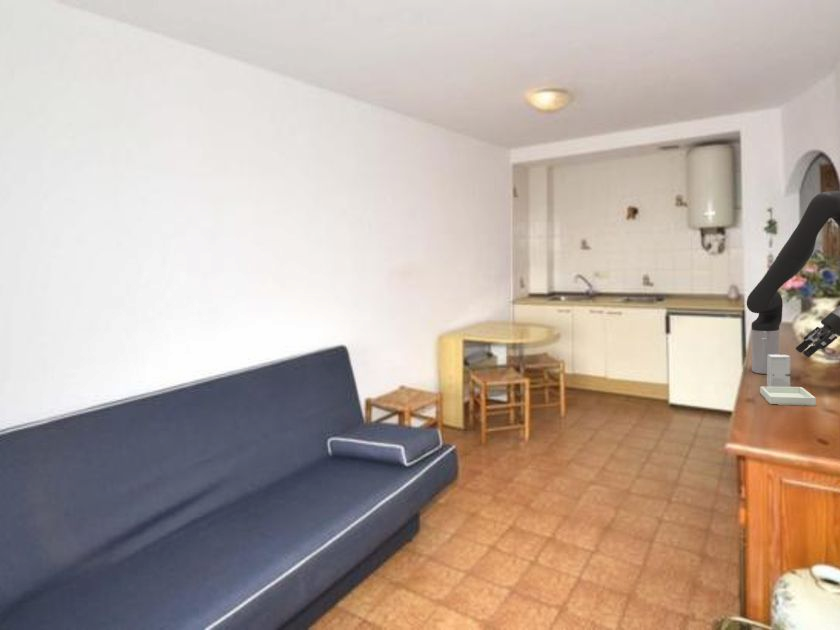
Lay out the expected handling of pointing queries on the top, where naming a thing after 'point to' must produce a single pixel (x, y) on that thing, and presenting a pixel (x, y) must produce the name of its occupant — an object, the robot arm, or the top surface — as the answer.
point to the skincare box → (778, 370)
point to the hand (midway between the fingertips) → (801, 353)
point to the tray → (787, 396)
